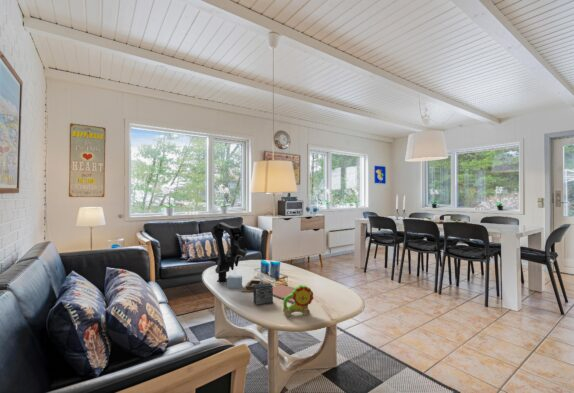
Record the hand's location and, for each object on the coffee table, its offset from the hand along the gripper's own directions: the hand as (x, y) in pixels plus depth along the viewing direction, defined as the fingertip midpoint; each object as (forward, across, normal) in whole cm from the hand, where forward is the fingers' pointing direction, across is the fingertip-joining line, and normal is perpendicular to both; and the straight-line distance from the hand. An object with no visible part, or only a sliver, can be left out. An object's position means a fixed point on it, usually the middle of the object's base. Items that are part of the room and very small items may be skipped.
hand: (234, 268), depth 198 cm
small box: (+13, -26, -25) cm, 38 cm away
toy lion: (+12, -40, -47) cm, 63 cm away
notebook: (+13, -11, -38) cm, 42 cm away
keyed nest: (+12, -1, -14) cm, 19 cm away
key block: (+13, 0, 0) cm, 13 cm away
